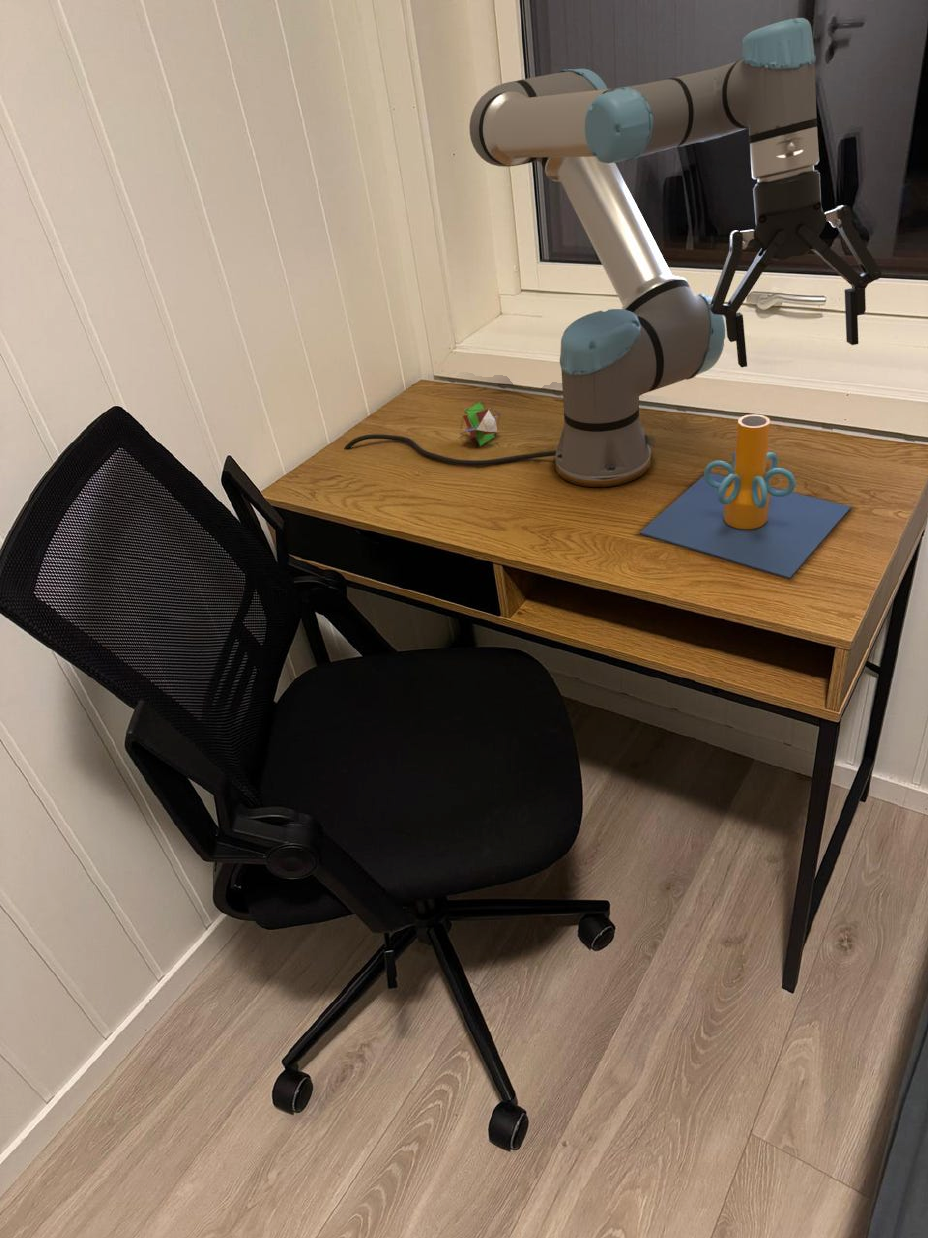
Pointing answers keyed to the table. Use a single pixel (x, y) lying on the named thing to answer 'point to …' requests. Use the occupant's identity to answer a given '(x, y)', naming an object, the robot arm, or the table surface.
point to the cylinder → (749, 476)
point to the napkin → (767, 548)
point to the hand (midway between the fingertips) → (796, 354)
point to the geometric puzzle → (480, 423)
